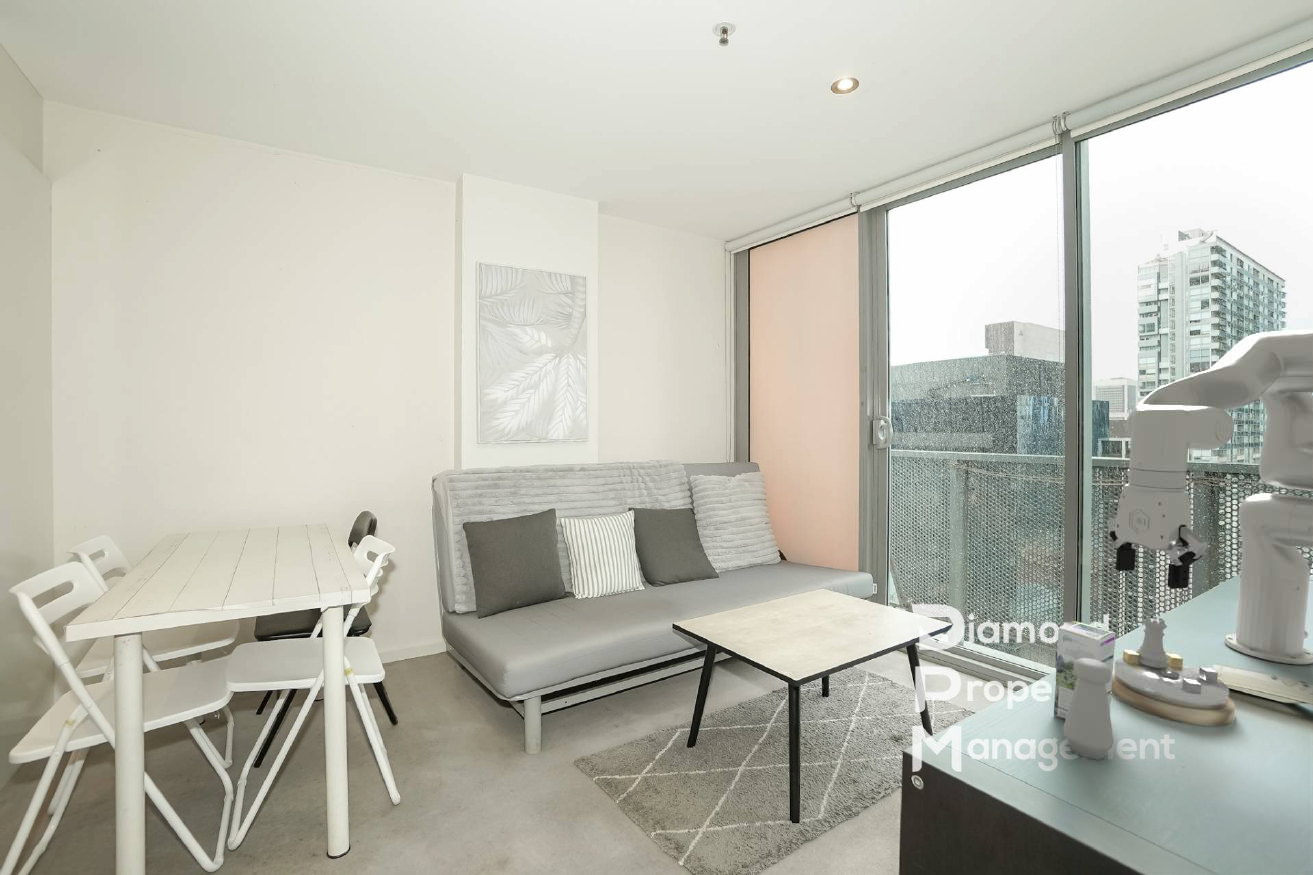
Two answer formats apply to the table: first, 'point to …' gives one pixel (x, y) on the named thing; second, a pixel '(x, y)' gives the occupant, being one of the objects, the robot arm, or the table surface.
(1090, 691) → the salt shaker
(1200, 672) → the white round board
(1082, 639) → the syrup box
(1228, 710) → the tan flat disc
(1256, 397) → the robot arm
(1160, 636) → the rook chess piece
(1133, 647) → the table surface
